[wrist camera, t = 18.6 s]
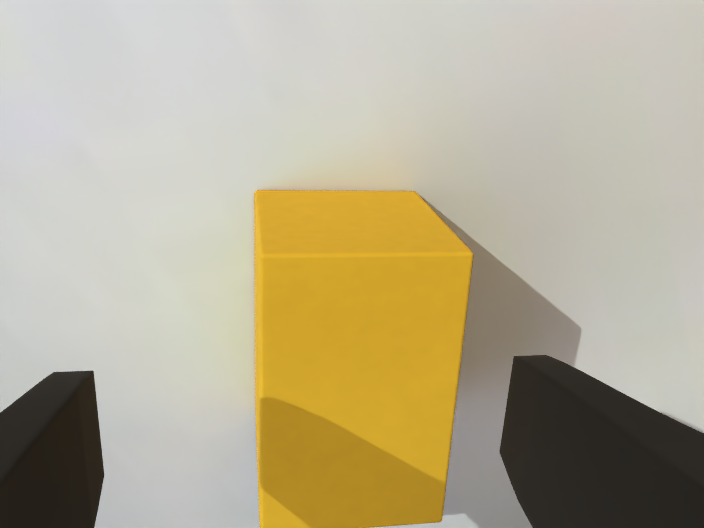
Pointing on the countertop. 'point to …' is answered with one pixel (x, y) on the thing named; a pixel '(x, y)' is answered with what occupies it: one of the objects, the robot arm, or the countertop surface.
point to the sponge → (355, 357)
